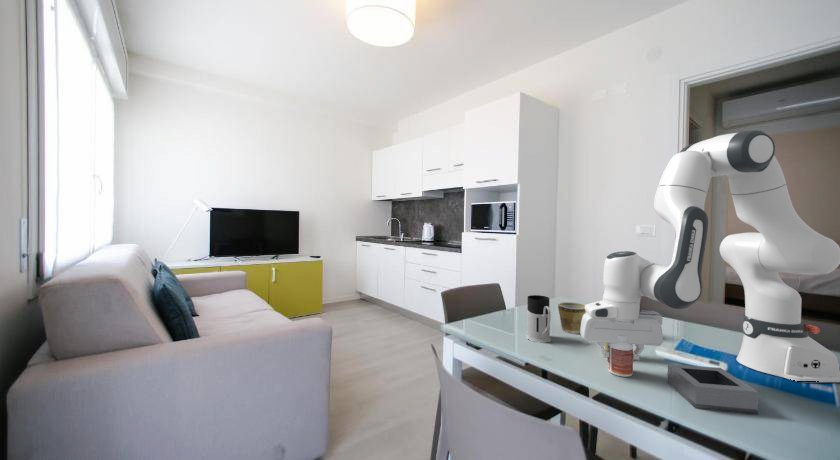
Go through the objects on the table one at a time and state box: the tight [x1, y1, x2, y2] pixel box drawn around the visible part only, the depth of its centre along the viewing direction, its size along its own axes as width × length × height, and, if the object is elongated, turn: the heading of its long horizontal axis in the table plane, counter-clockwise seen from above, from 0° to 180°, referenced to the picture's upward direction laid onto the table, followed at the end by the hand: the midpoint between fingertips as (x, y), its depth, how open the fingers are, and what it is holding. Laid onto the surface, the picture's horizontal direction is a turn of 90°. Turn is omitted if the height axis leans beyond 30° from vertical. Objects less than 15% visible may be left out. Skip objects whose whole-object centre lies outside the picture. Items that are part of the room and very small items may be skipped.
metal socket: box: [667, 363, 759, 415], centre depth 80 cm, size 12×12×5 cm
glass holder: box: [525, 294, 552, 344], centre depth 117 cm, size 9×14×15 cm, turn 2°
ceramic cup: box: [557, 301, 587, 335], centre depth 129 cm, size 13×10×10 cm
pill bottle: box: [607, 336, 634, 378], centre depth 93 cm, size 6×6×11 cm
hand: (619, 357), depth 93 cm, fingers closed on pill bottle, 6 cm apart
